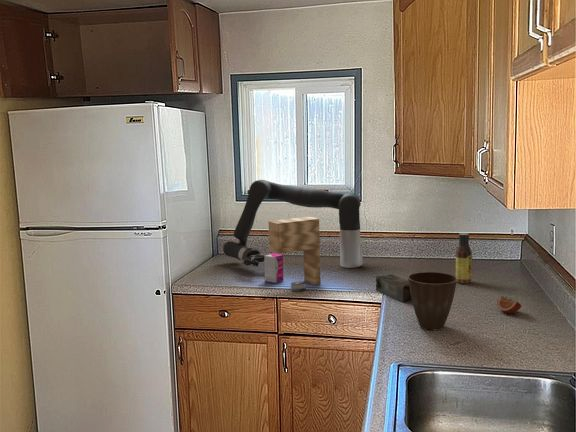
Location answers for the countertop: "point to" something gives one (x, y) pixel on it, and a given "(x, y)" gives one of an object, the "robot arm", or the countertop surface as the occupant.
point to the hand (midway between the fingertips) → (266, 262)
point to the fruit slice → (508, 305)
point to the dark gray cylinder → (298, 287)
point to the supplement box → (273, 268)
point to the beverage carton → (394, 287)
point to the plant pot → (432, 297)
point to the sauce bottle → (463, 260)
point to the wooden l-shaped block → (298, 242)
